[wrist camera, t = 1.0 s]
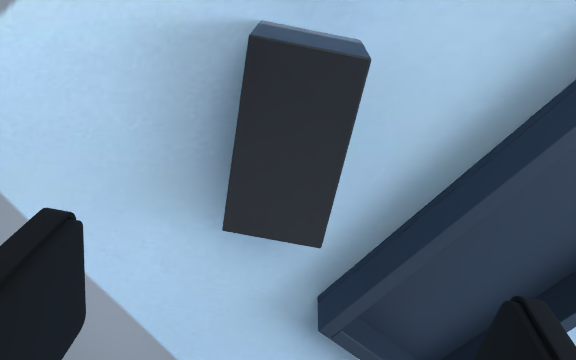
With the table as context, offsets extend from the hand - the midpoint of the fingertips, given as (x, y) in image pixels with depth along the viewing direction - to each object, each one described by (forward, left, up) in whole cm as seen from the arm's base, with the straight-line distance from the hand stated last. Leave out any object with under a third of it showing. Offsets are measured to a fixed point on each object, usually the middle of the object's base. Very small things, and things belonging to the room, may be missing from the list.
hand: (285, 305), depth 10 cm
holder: (+12, +3, -11) cm, 16 cm away
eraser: (0, 0, -11) cm, 11 cm away
